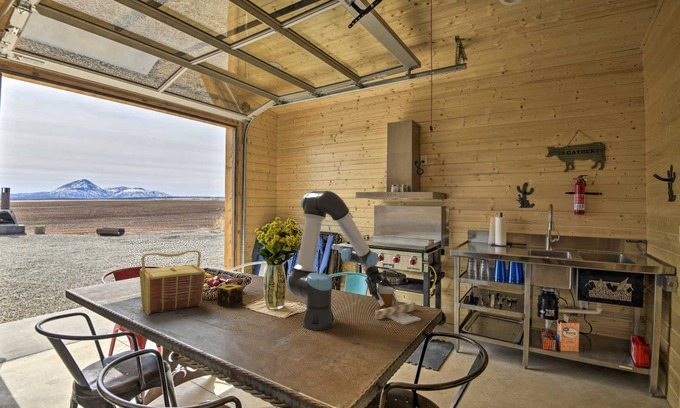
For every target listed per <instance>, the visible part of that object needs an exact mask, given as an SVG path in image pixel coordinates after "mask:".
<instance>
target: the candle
mask: <svg viewBox="0 0 680 408" xmlns="http://www.w3.org/2000/svg"><path fill="white" fill-rule="evenodd" d="M243 289H244V287H243V285H239V284H234V283H233V284H232V283H229V284H225V285H221V286H220V285H219V286H217V288H216V291H217V293H216V297H217V299H216V305H219V306H221V307H225V308H231V307H235V306H237V305H242V304H243V303H244V301H243V300H244V297H243Z"/></svg>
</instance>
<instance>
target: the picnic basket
mask: <svg viewBox="0 0 680 408" xmlns="http://www.w3.org/2000/svg"><path fill="white" fill-rule="evenodd" d="M188 253H197V255H198V256H197V265H196V264H193V263H192V264H188V265H187V264H186V265H176V266H166V267H164V266H163V267H155V268H153V267H152V268H146V264H145V263H146V261H145V258H146V257H147V256H161V257H166V258H171V257H172V258H173V257H179V256H183V255H185V254H188ZM201 256H202V253H201V251H199V250H197V249H195V250H194V249H192V250H186V251H181V252H177V253H165V252H164V253H163V252H150V253H145V254H144V255H142V257H141V268H140V269H139V284H140V295H141V296H140V298H141V299H140V300H141V305H142V308H143V310H144V312H145V313H146V315H151V314H156V313H162V312H168V311H173V310H178V309H179V310H180V309H186V308H190V307H191V308H192V307H200V306H202V301H203V293H204V286H205V279H206V270H205V269H204V268H201V266H200V265H201Z"/></svg>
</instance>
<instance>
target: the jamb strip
mask: <svg viewBox="0 0 680 408" xmlns="http://www.w3.org/2000/svg"><path fill="white" fill-rule="evenodd" d="M413 311H416V302H415V301H412V302H407V303H401V304H399V305H398V304H397V305H394V306H392V307H389V308H384V309H380V310H379V309H377V310H374V319H375V320H383V319H385V318H387V316H390V315H394V314H398V313H402V312H404V313H409V312H413Z"/></svg>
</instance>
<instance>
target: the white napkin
mask: <svg viewBox="0 0 680 408" xmlns="http://www.w3.org/2000/svg"><path fill="white" fill-rule="evenodd" d="M386 318H387V319H389V320H391V321H393V322H396V323H399V324H401V325H404V326H407V325H409V324H412V323H416V322H421V321H422V318H420V317H418V316H415V315H412V314H410V313H408V312H406V313H404V312H402V313H398V314H394V315H390V316H387V317H386Z"/></svg>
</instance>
